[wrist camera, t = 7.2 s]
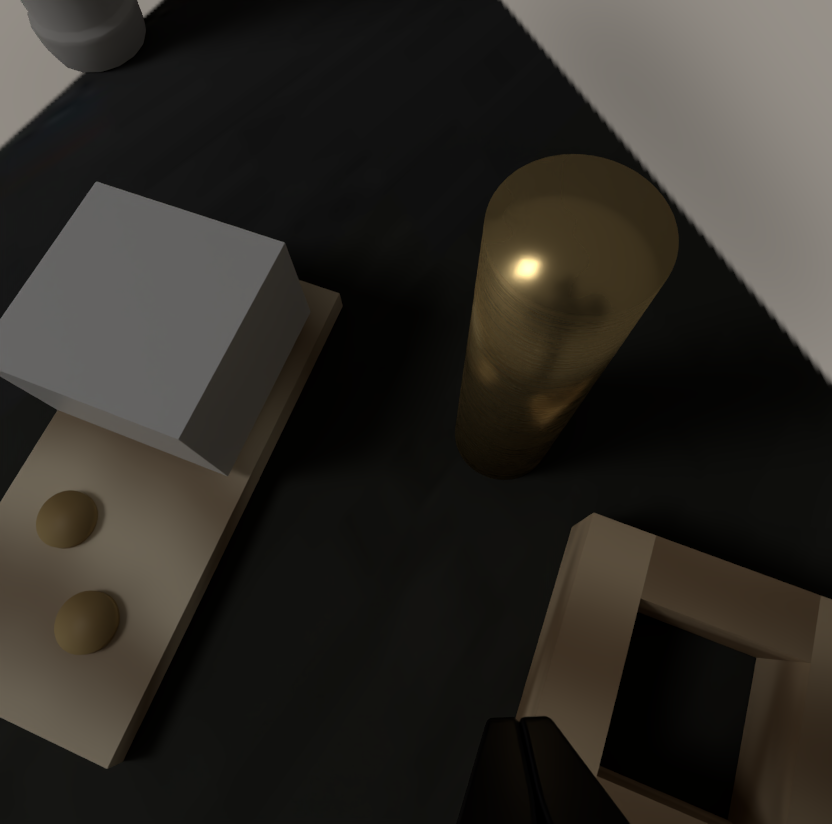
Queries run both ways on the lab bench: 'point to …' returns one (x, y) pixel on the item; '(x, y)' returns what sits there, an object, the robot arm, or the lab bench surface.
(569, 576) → the socket block
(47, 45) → the bottle
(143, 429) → the cover
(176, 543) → the plate
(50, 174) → the lab bench surface
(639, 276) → the brass pin
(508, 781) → the robot arm
